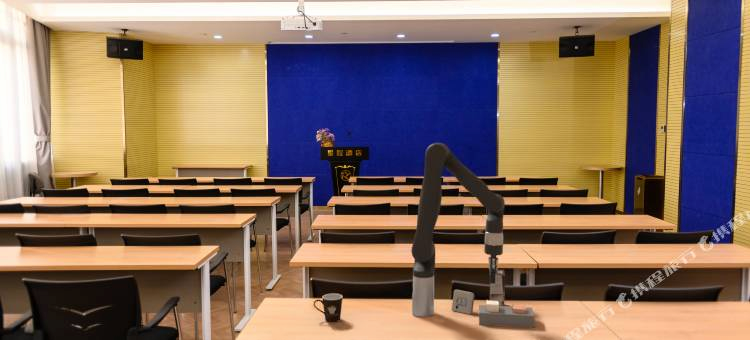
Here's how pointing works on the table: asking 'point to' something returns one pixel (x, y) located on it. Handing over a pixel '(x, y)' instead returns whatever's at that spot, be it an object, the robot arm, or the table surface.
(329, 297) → the coffee mug
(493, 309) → the key white
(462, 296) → the electrical switch
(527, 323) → the grey long rectangular block
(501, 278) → the coffee box
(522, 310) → the key terracotta
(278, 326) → the table surface
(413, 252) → the robot arm
